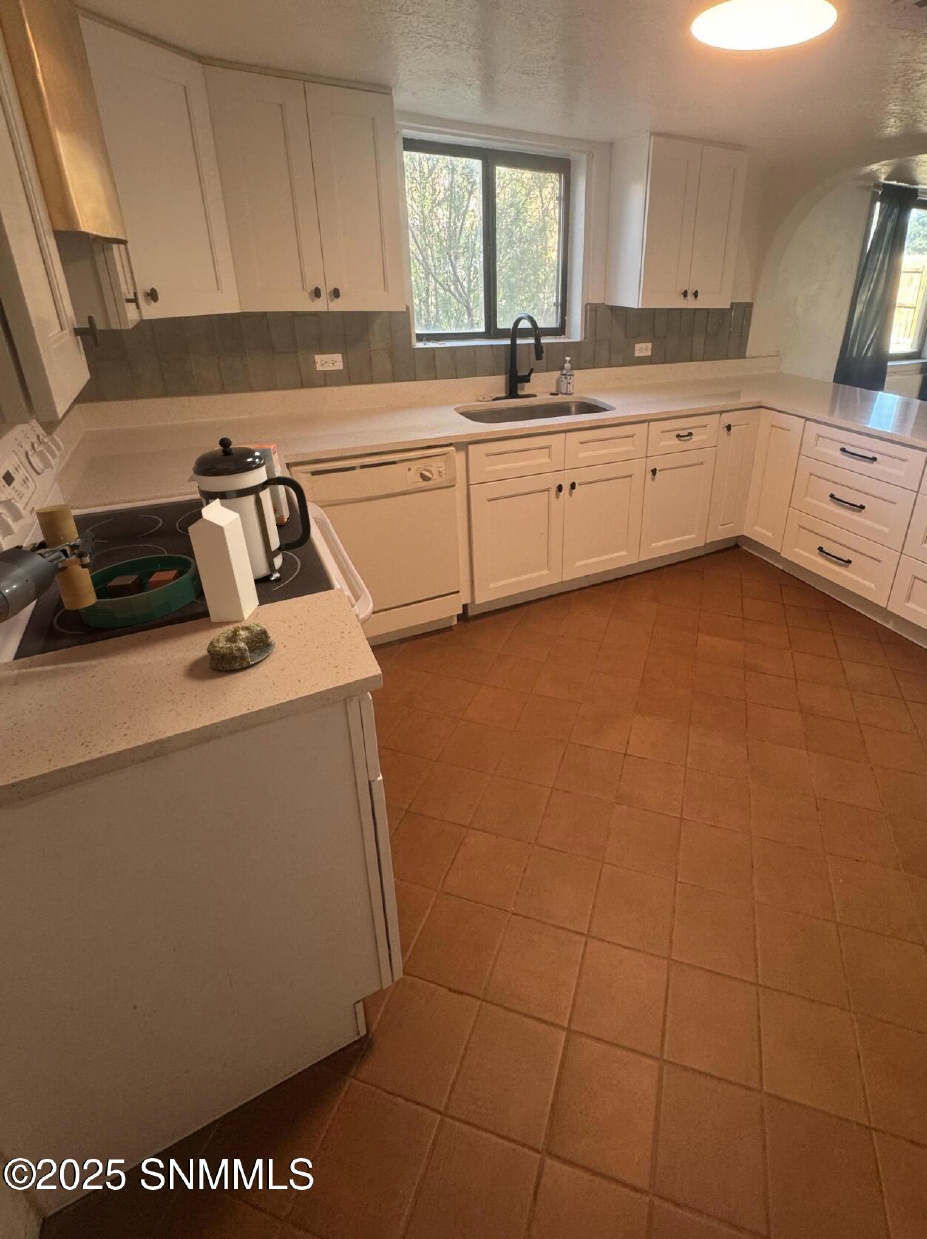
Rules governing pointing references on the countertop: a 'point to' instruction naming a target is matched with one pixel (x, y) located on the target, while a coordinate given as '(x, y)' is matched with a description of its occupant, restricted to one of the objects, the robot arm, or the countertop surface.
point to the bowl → (145, 603)
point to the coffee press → (249, 502)
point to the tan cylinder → (63, 530)
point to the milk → (223, 564)
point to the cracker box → (273, 471)
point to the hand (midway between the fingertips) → (73, 538)
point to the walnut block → (125, 586)
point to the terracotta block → (163, 579)
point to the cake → (240, 647)
